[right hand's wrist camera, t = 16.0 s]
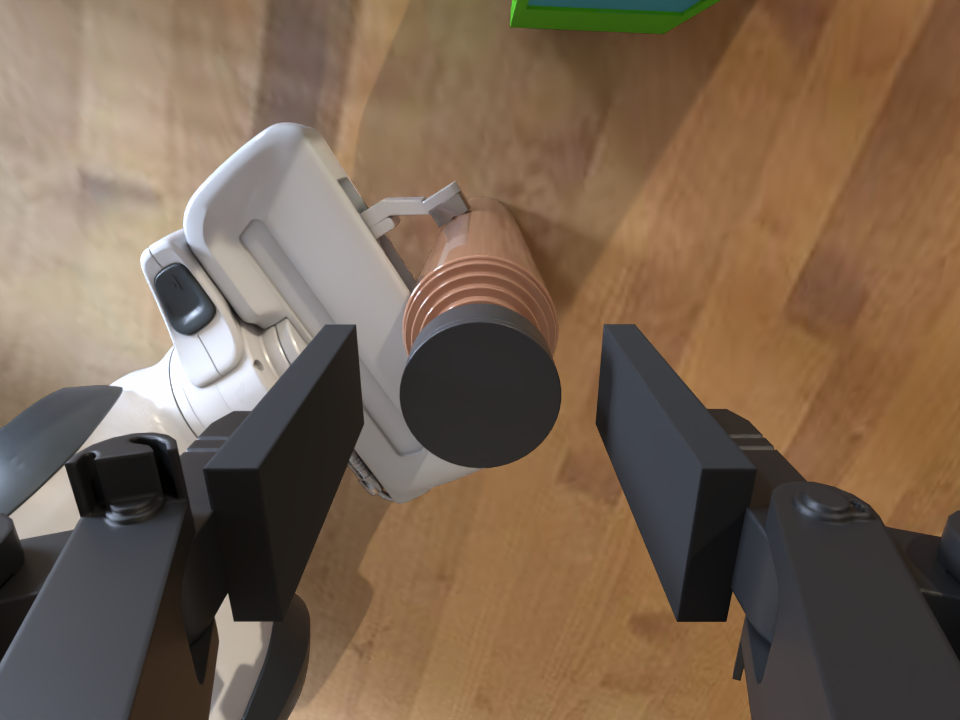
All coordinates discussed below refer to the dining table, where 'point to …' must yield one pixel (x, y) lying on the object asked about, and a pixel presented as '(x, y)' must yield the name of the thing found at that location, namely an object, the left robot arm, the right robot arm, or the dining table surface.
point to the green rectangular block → (605, 14)
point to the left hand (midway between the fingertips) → (494, 247)
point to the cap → (480, 386)
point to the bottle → (480, 272)
